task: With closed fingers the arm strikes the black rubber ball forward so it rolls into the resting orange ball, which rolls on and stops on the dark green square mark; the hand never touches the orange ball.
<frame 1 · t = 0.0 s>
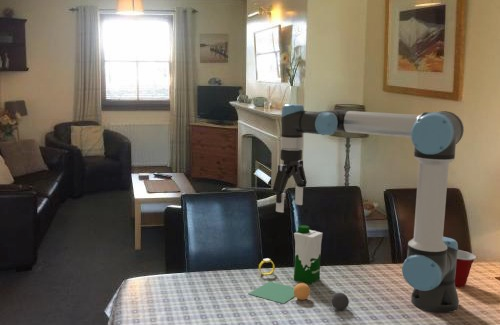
hand: (289, 208, 200), 28 cm above the table, tool pointing down, fingers open, 13 cm apart
green mark: (276, 292, 196), on the table
milk carton: (306, 280, 208), on the table
cue ball black: (340, 301, 182), on the table
plastic cup: (457, 284, 207), on the table
ball orange: (301, 291, 190), on the table
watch: (266, 274, 213), on the table
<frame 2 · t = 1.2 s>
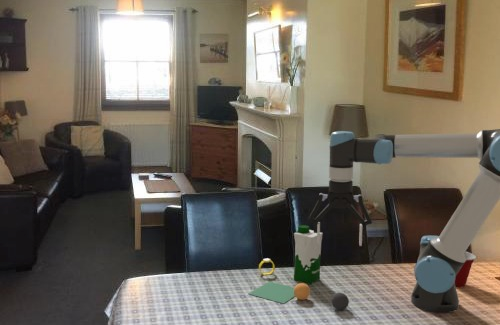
hand: (339, 243, 184), 21 cm above the table, tool pointing down, fingers open, 13 cm apart
nothing on the table moved.
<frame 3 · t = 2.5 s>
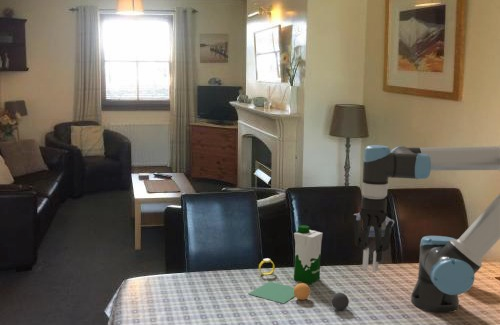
hand: (370, 269, 175), 16 cm above the table, tool pointing down, fingers open, 3 cm apart
nothing on the table moved.
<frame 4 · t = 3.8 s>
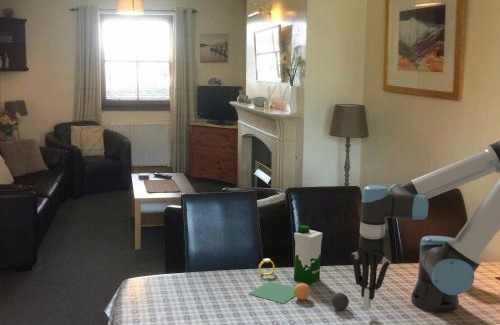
hand: (366, 307, 177), 3 cm above the table, tool pointing down, fingers closed
nothing on the table moved.
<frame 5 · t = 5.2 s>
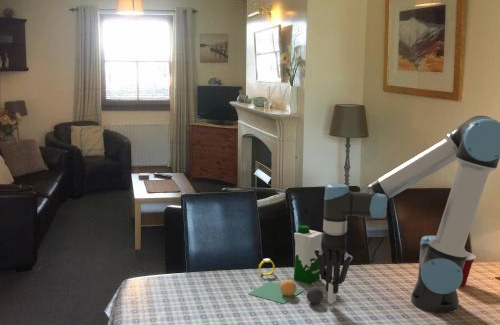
hand: (331, 301, 184), 2 cm above the table, tool pointing down, fingers closed
cue ball black: (314, 295, 187), on the table
ball orange: (288, 287, 193), on the table
everything else where it was.
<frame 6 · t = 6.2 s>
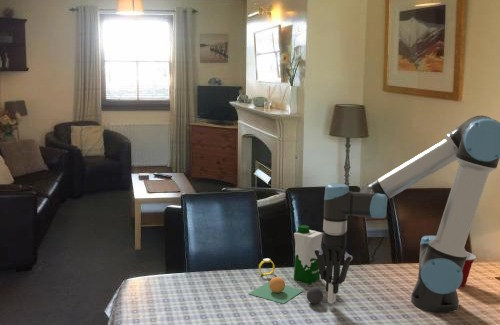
hand: (331, 301, 184), 2 cm above the table, tool pointing down, fingers closed
ball orange: (277, 285, 195), on the table
everything else where it was.
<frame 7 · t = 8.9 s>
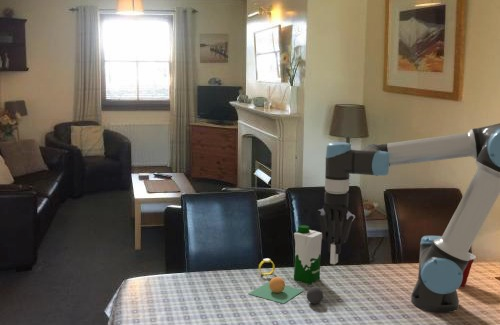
hand: (334, 262, 182), 15 cm above the table, tool pointing down, fingers closed
nothing on the table moved.
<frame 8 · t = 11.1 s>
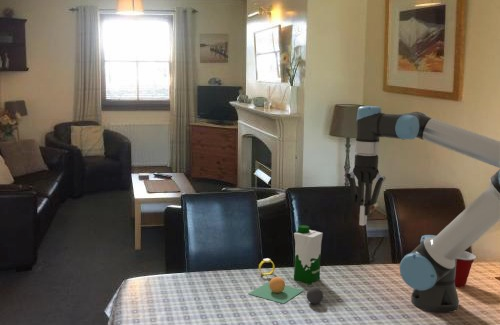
hand: (362, 224, 186), 26 cm above the table, tool pointing down, fingers closed
nothing on the table moved.
at the end: ball orange 0.3 cm from the green mark (horizontally); ball orange never touched the robot; cue ball black first touched ball orange at 4.7 s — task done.
